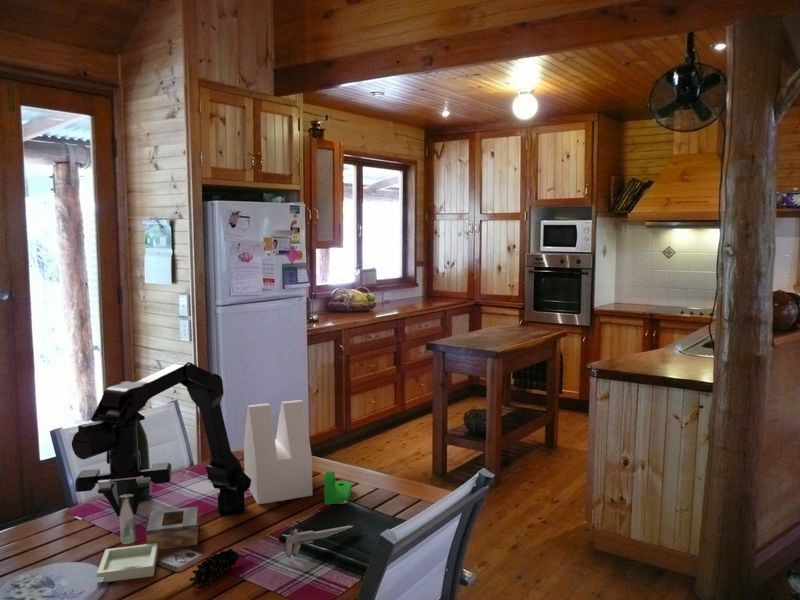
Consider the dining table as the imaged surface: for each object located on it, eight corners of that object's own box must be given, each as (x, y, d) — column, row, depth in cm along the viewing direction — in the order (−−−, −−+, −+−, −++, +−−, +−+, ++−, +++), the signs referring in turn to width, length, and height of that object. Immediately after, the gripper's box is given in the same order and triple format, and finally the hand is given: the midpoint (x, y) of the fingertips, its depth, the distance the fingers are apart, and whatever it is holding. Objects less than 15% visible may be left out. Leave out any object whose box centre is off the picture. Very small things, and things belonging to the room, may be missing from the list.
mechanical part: (346, 505, 175) (346, 476, 174) (324, 504, 176) (324, 475, 175) (352, 488, 187) (352, 461, 186) (332, 487, 188) (332, 460, 187)
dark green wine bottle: (152, 489, 187) (147, 376, 184) (150, 503, 177) (145, 384, 174) (112, 493, 183) (107, 379, 180) (108, 508, 173) (102, 387, 170)
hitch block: (198, 525, 162) (197, 506, 162) (197, 545, 152) (196, 524, 151) (151, 531, 159) (151, 511, 159) (147, 551, 149) (146, 530, 148)
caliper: (288, 559, 144) (288, 533, 143) (285, 558, 145) (285, 531, 144) (358, 530, 158) (358, 505, 157) (355, 528, 159) (355, 504, 158)
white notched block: (244, 480, 193) (242, 398, 191) (295, 473, 199) (293, 393, 197) (257, 504, 176) (255, 414, 173) (312, 495, 182) (310, 408, 179)
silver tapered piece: (135, 546, 138) (132, 501, 138) (119, 548, 137) (117, 503, 137) (136, 533, 144) (134, 490, 144) (121, 535, 143) (119, 492, 142)
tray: (158, 553, 148) (157, 542, 148) (153, 577, 138) (153, 565, 137) (106, 559, 145) (105, 549, 145) (97, 584, 135) (96, 573, 134)
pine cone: (199, 568, 130) (180, 568, 132) (204, 593, 130) (184, 592, 132) (253, 534, 146) (235, 534, 148) (257, 556, 146) (239, 556, 148)
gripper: (171, 430, 149) (174, 495, 151) (83, 437, 144) (87, 505, 146) (168, 445, 138) (171, 515, 140) (72, 453, 133) (76, 526, 135)
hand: (126, 514), depth 140 cm, fingers closed on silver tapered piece, 3 cm apart
